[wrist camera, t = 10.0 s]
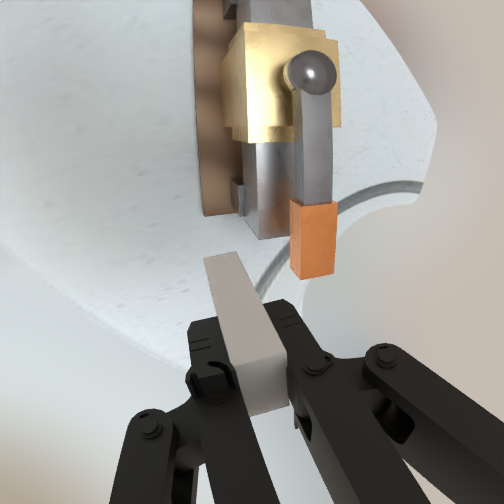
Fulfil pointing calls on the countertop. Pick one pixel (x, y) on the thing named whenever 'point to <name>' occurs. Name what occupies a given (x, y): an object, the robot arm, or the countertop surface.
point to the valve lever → (312, 165)
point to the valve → (267, 104)
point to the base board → (213, 107)
